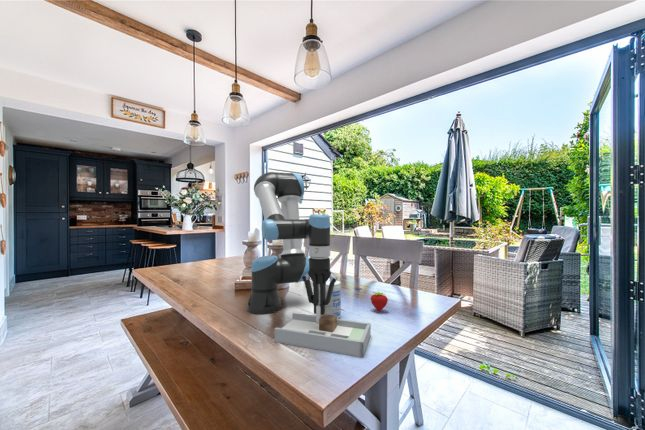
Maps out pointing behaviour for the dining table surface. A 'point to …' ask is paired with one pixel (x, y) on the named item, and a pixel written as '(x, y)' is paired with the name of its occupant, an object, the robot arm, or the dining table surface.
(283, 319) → the dining table surface
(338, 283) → the supplement tub
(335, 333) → the box
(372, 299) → the strawberry
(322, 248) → the robot arm
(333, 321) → the walnut block
